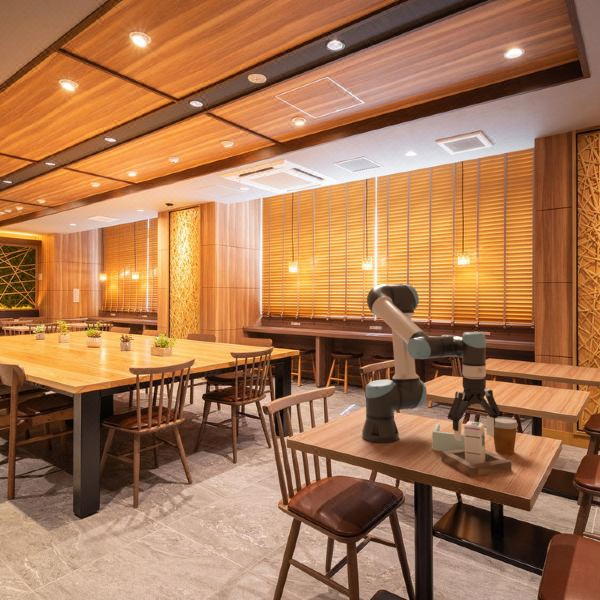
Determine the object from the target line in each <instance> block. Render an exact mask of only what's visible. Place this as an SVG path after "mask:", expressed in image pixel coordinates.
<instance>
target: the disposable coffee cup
mask: <svg viewBox="0 0 600 600" xmlns="http://www.w3.org/2000/svg"><path fill="white" fill-rule="evenodd" d="M517 421H518V420H516V419H515V418H512V417H506V416H505V417H504V416H498V417H497V418H495V426H494V436H493V437H492V438H493V442H494V444H493V445H494V450H495V452H496V453H497V454H501V455H509V456H510V455H513V454H514V453H515V444H516V437H517V430H518V429H517V428H518V427H519V423H518V422H517Z"/></svg>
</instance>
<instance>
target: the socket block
mask: <svg viewBox="0 0 600 600" xmlns="http://www.w3.org/2000/svg"><path fill="white" fill-rule="evenodd" d="M441 461H443V462H444V463H446V464H448V465H449V466H451V467H454V469H456V470H459V471H460V472H461V473H463V474H465V475H467V476H469V477H470V478H474V477H475V478H476V477H482V476H487V475H494V474H499V473H505V472H511V471H512V469H513V468H512V465H513V464H512V461H511V460H509V459H507V458H504V457H502V456H500V455H498V454H496V453H494V452H491V451H490V450H487V449H485V461H486V462H485V463H478V464H471V463H470V462H468V461H466V460H465V449H458V450H451V451H441Z"/></svg>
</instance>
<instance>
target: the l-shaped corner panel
mask: <svg viewBox="0 0 600 600" xmlns="http://www.w3.org/2000/svg"><path fill="white" fill-rule="evenodd" d="M440 425H441V423H436V424H435V427H434V428H433V430H432V434H431V435H432V450H433V451H438V452H439V451H440V452H444V451H451V450H458V449H465V441H464V433H463V434H462V433H461V441H458V440H456V439H454V433H453V432H452V433H451V432H445V431H443V432H442V431H441V428H440V427H441V426H440Z"/></svg>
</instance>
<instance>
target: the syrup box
mask: <svg viewBox="0 0 600 600" xmlns="http://www.w3.org/2000/svg"><path fill="white" fill-rule="evenodd" d="M463 431H464V433H463V435H464V441H465V460H466V461H468V462H470V463H471V464H478V463H485V462H486V461H485V450H486V439H485V438H486V437H485V423H483V422H479V421H469V420H468V421H467V422H466V423H465V424H464V425H463Z"/></svg>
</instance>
